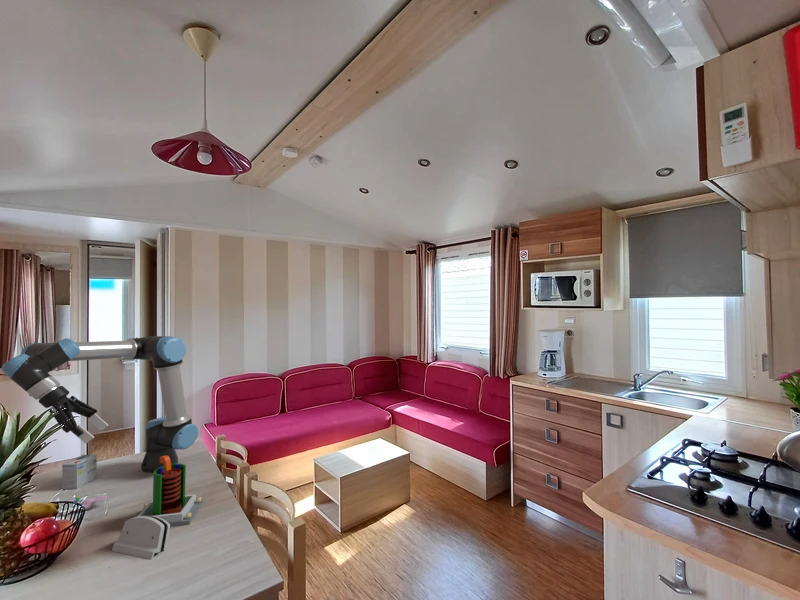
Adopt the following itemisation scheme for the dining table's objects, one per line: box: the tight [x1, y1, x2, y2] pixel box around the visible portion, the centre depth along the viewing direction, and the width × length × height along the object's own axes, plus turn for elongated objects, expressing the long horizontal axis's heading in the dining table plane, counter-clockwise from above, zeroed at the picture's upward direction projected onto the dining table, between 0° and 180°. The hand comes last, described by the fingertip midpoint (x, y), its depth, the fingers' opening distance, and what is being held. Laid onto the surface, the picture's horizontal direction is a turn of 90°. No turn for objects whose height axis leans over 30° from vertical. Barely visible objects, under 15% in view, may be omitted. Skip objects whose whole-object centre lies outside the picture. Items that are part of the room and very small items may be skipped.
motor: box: [152, 456, 187, 516], centre depth 133 cm, size 10×9×20 cm
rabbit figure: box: [72, 495, 109, 510], centre depth 137 cm, size 6×6×15 cm
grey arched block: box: [111, 516, 171, 560], centre depth 115 cm, size 17×5×10 cm, turn 75°
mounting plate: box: [135, 493, 204, 527], centre depth 132 cm, size 15×20×4 cm
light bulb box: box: [61, 453, 98, 490], centre depth 159 cm, size 11×7×11 cm, turn 2°
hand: (98, 434), depth 130 cm, fingers open, 13 cm apart
